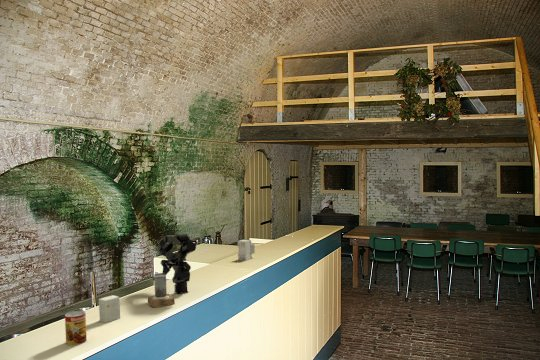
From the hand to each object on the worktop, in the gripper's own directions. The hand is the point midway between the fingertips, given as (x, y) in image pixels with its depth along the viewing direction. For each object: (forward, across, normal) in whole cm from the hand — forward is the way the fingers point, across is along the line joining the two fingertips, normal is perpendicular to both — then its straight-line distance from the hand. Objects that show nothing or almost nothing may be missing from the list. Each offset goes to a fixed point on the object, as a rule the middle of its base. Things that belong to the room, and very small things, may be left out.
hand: (168, 278), depth 243 cm
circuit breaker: (-73, -29, +90) cm, 119 cm away
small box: (+35, -3, -17) cm, 39 cm away
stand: (+13, 0, +4) cm, 14 cm away
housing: (+11, 0, +2) cm, 11 cm away
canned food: (+53, +10, -35) cm, 65 cm away
